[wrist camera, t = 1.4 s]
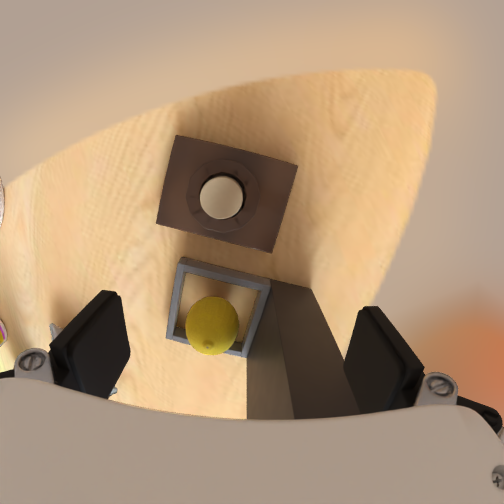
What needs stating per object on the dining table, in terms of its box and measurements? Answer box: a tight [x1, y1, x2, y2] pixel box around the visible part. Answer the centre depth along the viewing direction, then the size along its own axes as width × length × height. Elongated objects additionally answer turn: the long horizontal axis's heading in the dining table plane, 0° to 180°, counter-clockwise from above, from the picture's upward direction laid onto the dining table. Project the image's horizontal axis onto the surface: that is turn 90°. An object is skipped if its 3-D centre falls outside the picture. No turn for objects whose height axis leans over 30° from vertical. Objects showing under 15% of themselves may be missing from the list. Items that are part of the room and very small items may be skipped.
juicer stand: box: [166, 257, 361, 420], centre depth 21 cm, size 16×11×25 cm
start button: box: [200, 176, 243, 219], centre depth 24 cm, size 4×4×2 cm
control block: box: [156, 135, 298, 253], centre depth 26 cm, size 12×9×4 cm
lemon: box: [185, 296, 239, 355], centre depth 28 cm, size 6×6×8 cm
